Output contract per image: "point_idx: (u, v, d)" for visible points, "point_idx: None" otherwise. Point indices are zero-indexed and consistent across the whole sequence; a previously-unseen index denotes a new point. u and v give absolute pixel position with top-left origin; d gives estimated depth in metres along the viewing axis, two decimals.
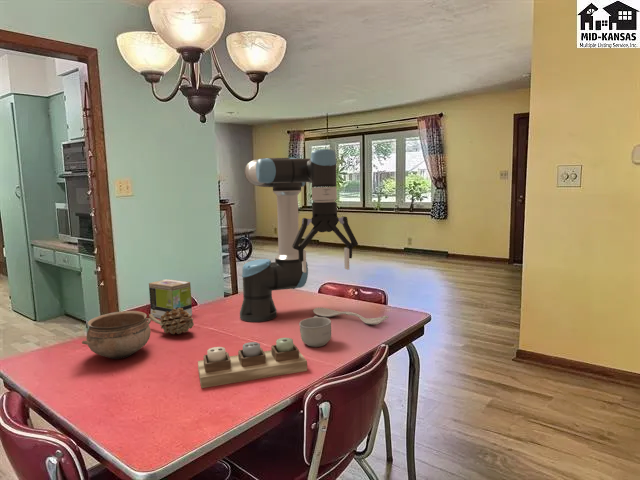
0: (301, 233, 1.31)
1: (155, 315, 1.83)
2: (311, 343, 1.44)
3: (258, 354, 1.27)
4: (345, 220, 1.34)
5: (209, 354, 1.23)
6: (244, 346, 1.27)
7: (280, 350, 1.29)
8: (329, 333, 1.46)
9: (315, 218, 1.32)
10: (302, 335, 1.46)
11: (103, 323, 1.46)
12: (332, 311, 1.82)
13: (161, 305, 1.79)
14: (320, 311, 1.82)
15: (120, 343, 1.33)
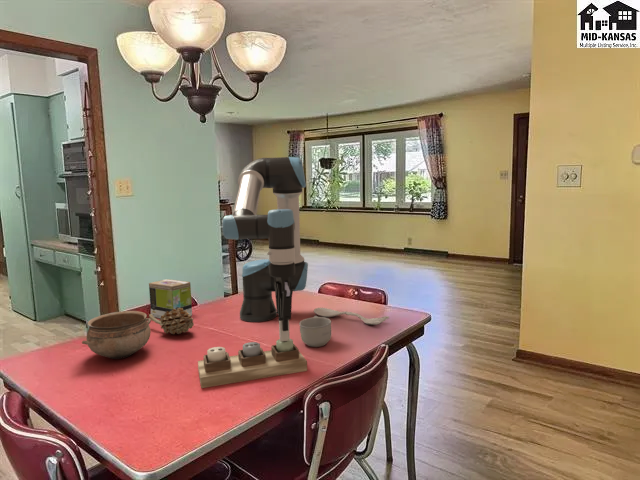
0: None
1: (155, 315, 1.83)
2: (311, 343, 1.44)
3: (258, 354, 1.27)
4: (283, 293, 1.23)
5: (209, 354, 1.23)
6: (244, 346, 1.27)
7: (280, 351, 1.29)
8: (329, 333, 1.46)
9: (276, 277, 1.32)
10: (302, 335, 1.46)
11: (103, 323, 1.46)
12: (333, 311, 1.82)
13: (161, 305, 1.79)
14: (321, 311, 1.82)
15: (120, 343, 1.33)
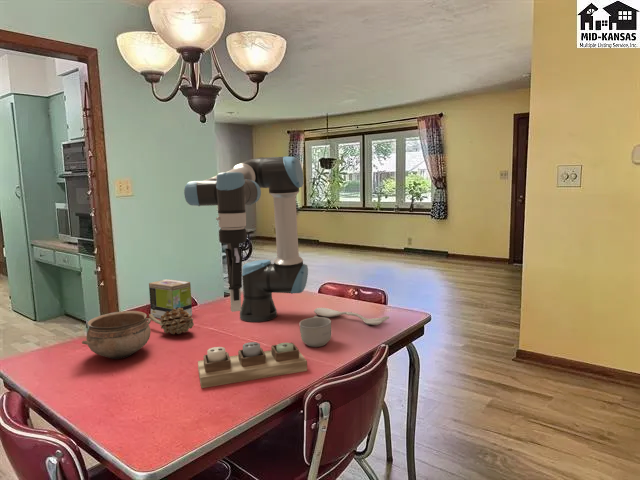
0: (227, 266, 1.27)
1: (155, 315, 1.83)
2: (311, 343, 1.44)
3: (258, 354, 1.27)
4: (232, 259, 1.17)
5: (209, 354, 1.23)
6: (244, 346, 1.27)
7: None
8: (329, 333, 1.46)
9: (227, 245, 1.25)
10: (302, 335, 1.46)
11: (103, 323, 1.46)
12: (333, 311, 1.82)
13: (161, 305, 1.79)
14: (321, 311, 1.82)
15: (120, 343, 1.33)
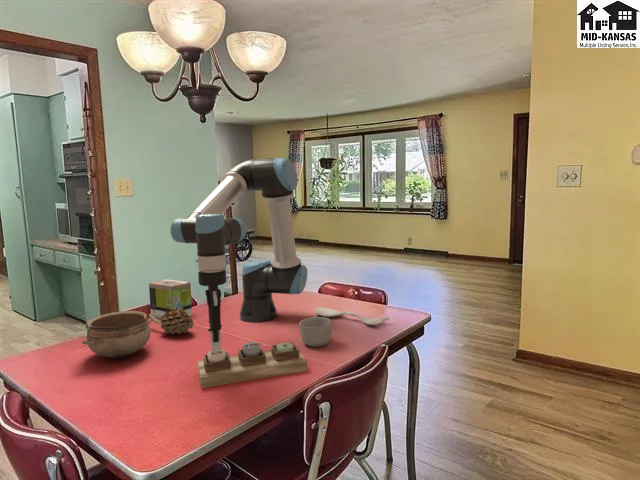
0: (208, 306, 1.26)
1: (155, 315, 1.83)
2: (311, 343, 1.44)
3: (258, 354, 1.27)
4: (210, 302, 1.17)
5: (209, 357, 1.23)
6: (244, 346, 1.27)
7: None
8: (329, 333, 1.46)
9: None
10: (302, 335, 1.46)
11: (103, 323, 1.46)
12: (334, 311, 1.82)
13: (161, 305, 1.79)
14: (322, 311, 1.82)
15: (120, 343, 1.33)
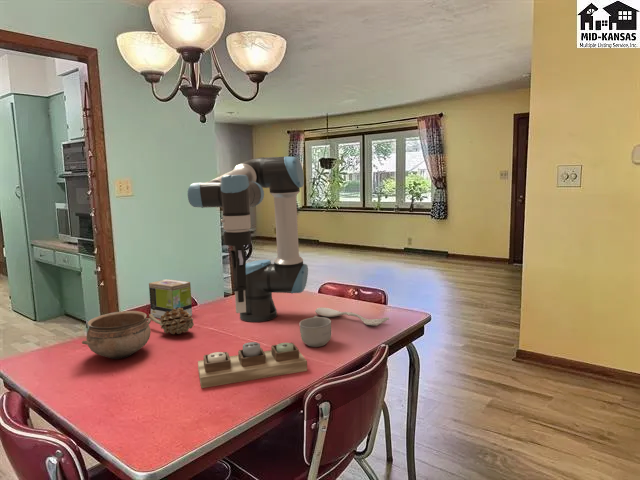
0: None
1: (155, 315, 1.83)
2: (311, 343, 1.44)
3: (258, 354, 1.27)
4: (236, 261, 1.18)
5: (209, 359, 1.23)
6: (244, 346, 1.27)
7: None
8: (329, 333, 1.46)
9: None
10: (302, 335, 1.46)
11: (103, 323, 1.46)
12: (334, 311, 1.82)
13: (161, 305, 1.79)
14: (322, 311, 1.82)
15: (120, 343, 1.33)
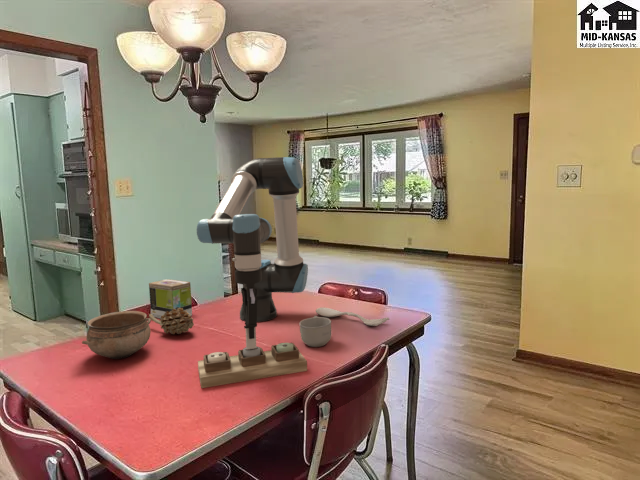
0: (243, 304, 1.30)
1: (155, 315, 1.83)
2: (311, 343, 1.44)
3: None
4: (248, 300, 1.20)
5: (209, 359, 1.23)
6: (244, 350, 1.27)
7: None
8: (329, 333, 1.46)
9: (243, 284, 1.28)
10: (302, 335, 1.46)
11: (103, 323, 1.46)
12: (335, 311, 1.82)
13: (161, 305, 1.79)
14: (323, 311, 1.82)
15: (120, 343, 1.33)
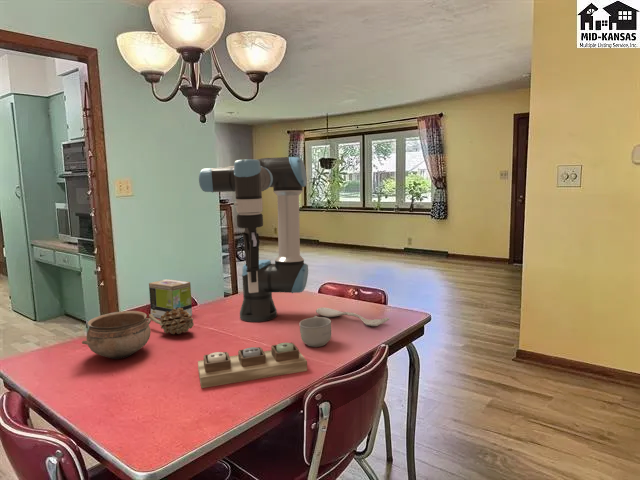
0: None
1: (155, 315, 1.83)
2: (311, 343, 1.44)
3: None
4: (250, 243, 1.23)
5: (209, 359, 1.23)
6: (244, 351, 1.27)
7: None
8: (329, 333, 1.46)
9: None
10: (302, 335, 1.46)
11: (103, 323, 1.46)
12: (335, 311, 1.82)
13: (161, 305, 1.79)
14: (323, 311, 1.82)
15: (120, 343, 1.33)
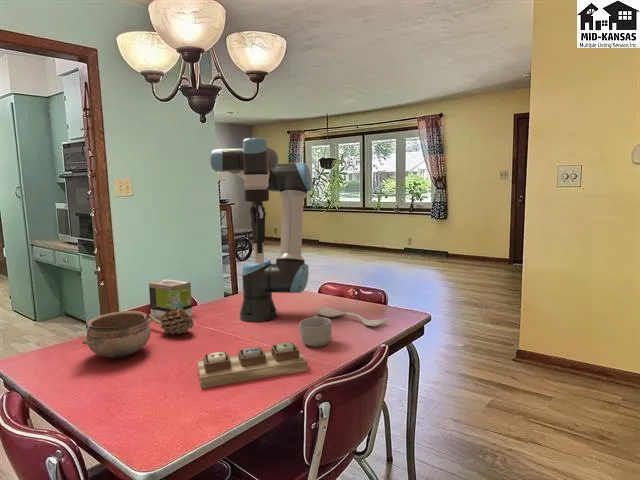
0: None
1: (155, 315, 1.83)
2: (311, 343, 1.44)
3: None
4: (257, 215, 1.33)
5: (209, 359, 1.23)
6: (244, 351, 1.27)
7: None
8: (329, 333, 1.46)
9: None
10: (302, 335, 1.46)
11: (103, 323, 1.46)
12: (336, 311, 1.82)
13: (161, 305, 1.79)
14: (324, 311, 1.82)
15: (120, 343, 1.33)
